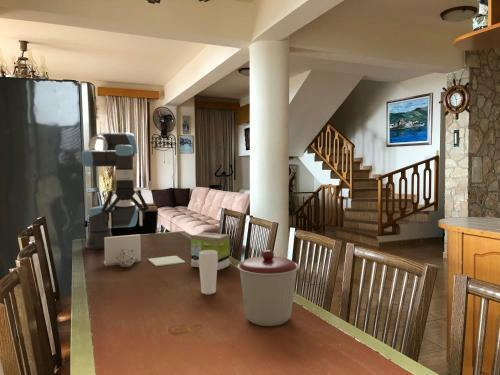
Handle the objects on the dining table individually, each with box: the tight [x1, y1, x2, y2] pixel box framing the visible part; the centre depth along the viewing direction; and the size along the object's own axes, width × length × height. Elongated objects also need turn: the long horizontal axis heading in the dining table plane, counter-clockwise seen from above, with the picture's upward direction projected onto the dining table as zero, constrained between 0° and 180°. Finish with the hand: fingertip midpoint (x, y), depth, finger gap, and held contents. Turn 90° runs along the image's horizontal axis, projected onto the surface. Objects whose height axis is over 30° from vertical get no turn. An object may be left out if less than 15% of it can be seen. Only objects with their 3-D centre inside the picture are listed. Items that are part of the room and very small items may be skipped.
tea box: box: [190, 231, 230, 271], centre depth 180 cm, size 15×10×15 cm
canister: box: [237, 249, 299, 327], centre depth 117 cm, size 18×18×21 cm
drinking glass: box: [198, 250, 218, 295], centre depth 143 cm, size 7×7×15 cm
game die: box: [116, 250, 137, 269], centre depth 179 cm, size 9×8×10 cm
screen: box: [103, 233, 142, 267], centre depth 187 cm, size 6×16×13 cm, turn 118°
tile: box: [147, 255, 186, 267], centre depth 190 cm, size 14×14×1 cm
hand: (125, 226), depth 178 cm, fingers open, 13 cm apart
